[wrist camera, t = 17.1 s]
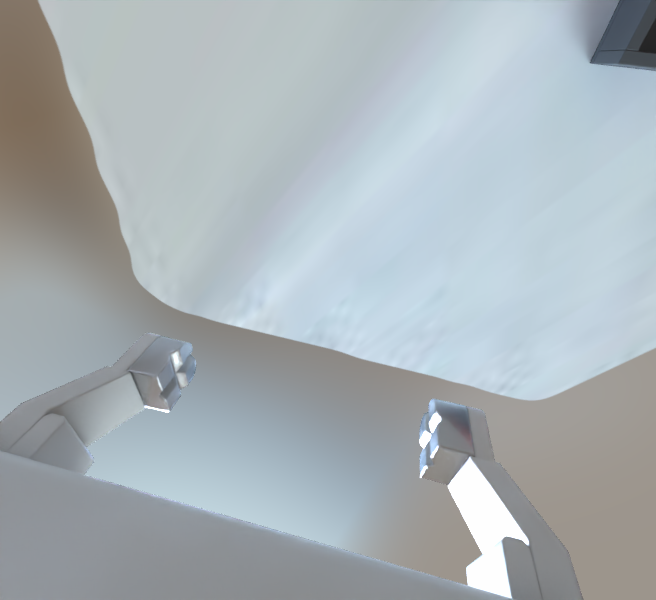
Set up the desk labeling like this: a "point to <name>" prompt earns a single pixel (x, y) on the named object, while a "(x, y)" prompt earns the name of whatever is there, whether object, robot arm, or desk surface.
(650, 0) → the open box
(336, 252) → the desk surface
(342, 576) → the robot arm
